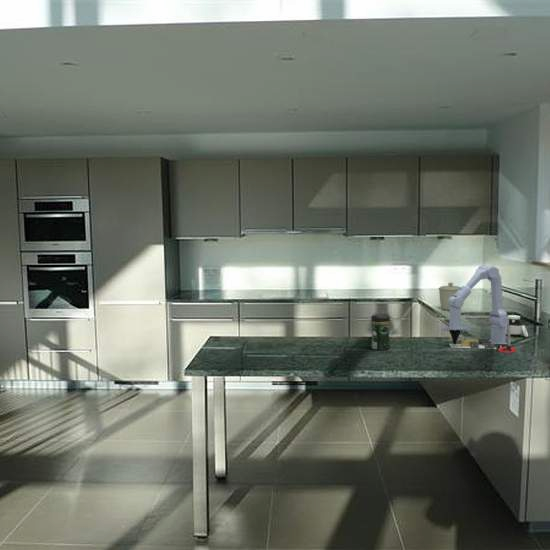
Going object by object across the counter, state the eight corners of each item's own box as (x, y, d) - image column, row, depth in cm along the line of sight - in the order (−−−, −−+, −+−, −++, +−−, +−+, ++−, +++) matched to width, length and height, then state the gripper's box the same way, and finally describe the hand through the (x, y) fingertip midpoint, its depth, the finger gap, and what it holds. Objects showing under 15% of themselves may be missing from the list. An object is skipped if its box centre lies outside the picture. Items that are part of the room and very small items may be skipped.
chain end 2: (482, 345, 304) (482, 340, 303) (493, 345, 302) (493, 340, 302) (485, 348, 295) (485, 343, 295) (496, 348, 294) (496, 344, 294)
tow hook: (513, 355, 284) (517, 350, 291) (513, 330, 282) (518, 326, 289) (495, 353, 289) (500, 349, 296) (496, 328, 287) (501, 324, 294)
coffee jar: (383, 346, 304) (383, 312, 302) (392, 349, 297) (392, 314, 295) (368, 348, 300) (368, 313, 298) (376, 351, 293) (377, 315, 291)
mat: (449, 344, 307) (449, 343, 307) (493, 345, 303) (493, 345, 303) (451, 348, 298) (451, 347, 298) (497, 349, 294) (497, 348, 294)
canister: (437, 311, 426) (437, 283, 424) (438, 307, 443) (438, 280, 441) (462, 311, 420) (463, 283, 419) (462, 308, 438) (463, 281, 436)
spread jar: (503, 334, 335) (504, 314, 334) (522, 334, 335) (523, 314, 334) (511, 338, 323) (511, 318, 322) (531, 338, 323) (531, 318, 322)
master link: (461, 345, 303) (461, 338, 302) (477, 345, 301) (477, 338, 301) (462, 346, 300) (462, 339, 299) (478, 347, 298) (478, 339, 298)
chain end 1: (468, 344, 305) (468, 340, 304) (476, 344, 304) (476, 340, 304) (471, 348, 296) (471, 343, 296) (479, 348, 296) (479, 343, 296)
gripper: (441, 320, 298) (441, 345, 299) (470, 320, 295) (469, 346, 297) (440, 317, 305) (439, 342, 306) (468, 318, 302) (467, 343, 304)
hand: (454, 344), depth 302 cm, fingers closed
